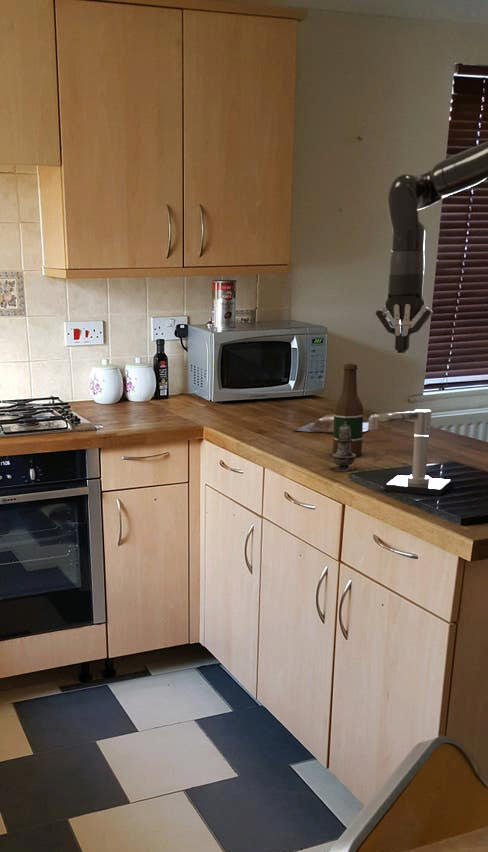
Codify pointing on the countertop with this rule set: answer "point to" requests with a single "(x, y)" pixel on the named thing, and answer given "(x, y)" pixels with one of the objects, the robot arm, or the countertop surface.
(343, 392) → the beer bottle
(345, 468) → the grey figurine
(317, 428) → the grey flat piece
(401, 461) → the countertop surface
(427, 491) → the faucet base
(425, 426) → the spout
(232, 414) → the countertop surface
